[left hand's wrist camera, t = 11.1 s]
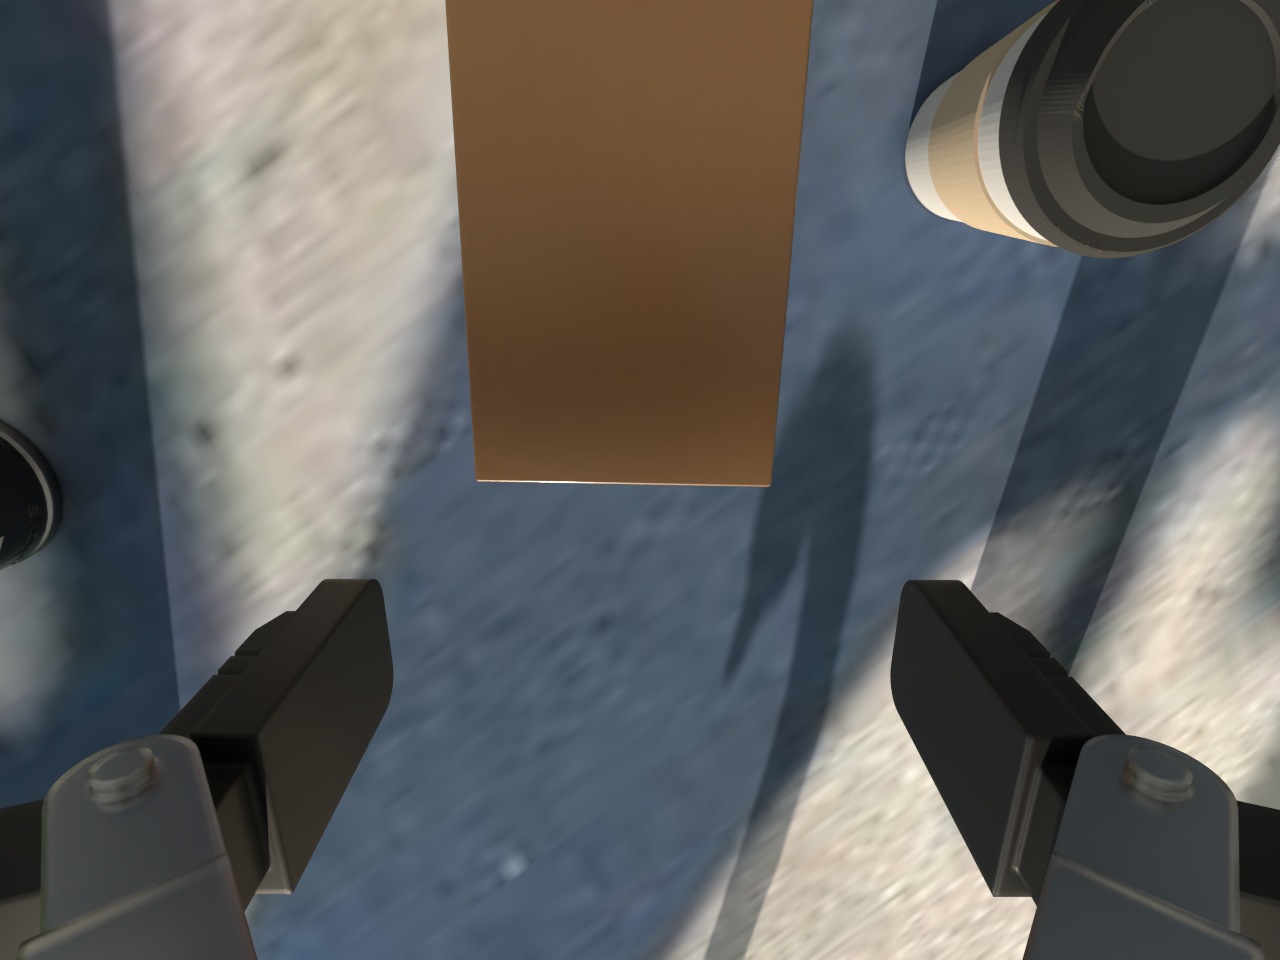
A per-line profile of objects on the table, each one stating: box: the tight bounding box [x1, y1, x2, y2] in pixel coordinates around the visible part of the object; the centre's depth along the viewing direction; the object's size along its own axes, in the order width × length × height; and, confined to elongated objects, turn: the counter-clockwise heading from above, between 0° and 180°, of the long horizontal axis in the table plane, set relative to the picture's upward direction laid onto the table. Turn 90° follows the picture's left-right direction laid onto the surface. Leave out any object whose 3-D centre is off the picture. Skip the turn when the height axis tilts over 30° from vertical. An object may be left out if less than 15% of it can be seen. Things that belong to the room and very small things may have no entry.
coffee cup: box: [905, 0, 1280, 258], centre depth 28 cm, size 9×9×15 cm
